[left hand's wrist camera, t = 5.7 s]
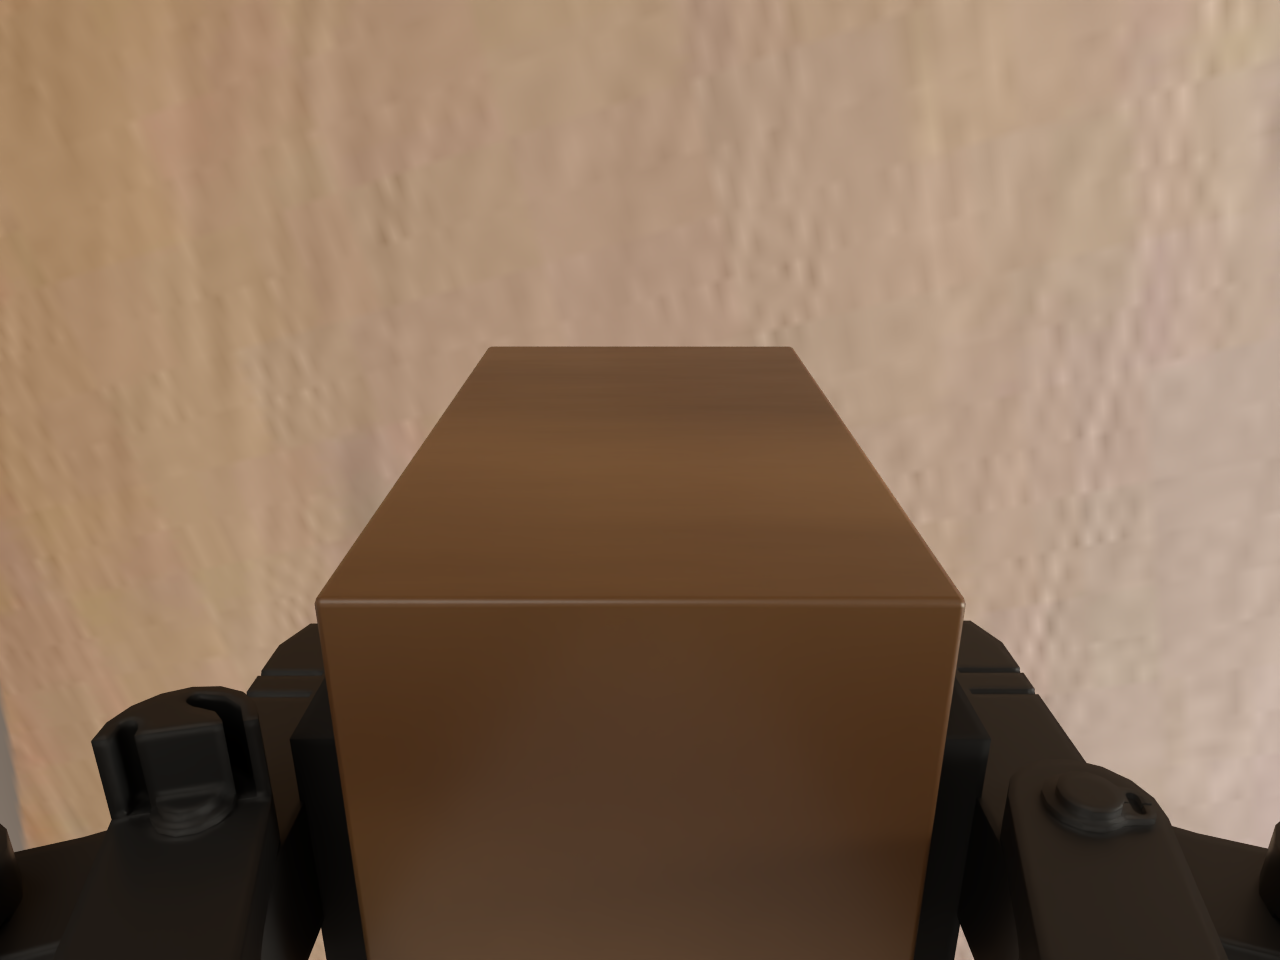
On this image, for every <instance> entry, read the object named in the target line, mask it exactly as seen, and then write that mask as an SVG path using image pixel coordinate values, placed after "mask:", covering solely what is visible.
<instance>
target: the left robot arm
mask: <svg viewBox="0 0 1280 960" xmlns="http://www.w3.org/2000/svg"><path fill="white" fill-rule="evenodd" d="M261 672H262V673H261V676H258V677H257V678H256V679H255V681H254V682H253V684H252V685H251V687H250V688H249V689H248V691H247V695H246V694H245V693H244V692H242V691H238V690H234V689H230V688H226V687H222V686H213V687H190V688H185V689H181V690H176V691H172V692H167V693H163V694H160V695H157V696H155V697H152V698H150V699H147V700H145V701H143V702H140V703H138V704H135V705H133V706H131V707H129V708H128V709H126V710H125V711H123V712H122V713H120V714H119V715H117V716H116V717H114V718H113V719H111V720H110V721H108V722H107V723H106V724H105V725H104V726H103V728H102V729H101V730H100V731H99V732H98V734H97V735H96V736H95V737H94V738H93V740H92V741H91V743H92V747H93V751H94V754H95V758H96V762H97V766H98V770H99V773H100V777H101V781H102V785H103V789H104V792H105V796H106V800H107V804H108V808H109V811H110V815H111V819H112V820H111V822H110V825H109V827H108V829H107V831H103V832H100V833H96V834H93V835H89V836H86V837H82V838H77V839H73V840H68V841H64V842H59V843H55V844H50V845H46V846H41V847H36V848H32V849H27V850H23V851H18V852H14V851H13V848H12V845H11V842H10V839H9V835H8V832H7V829H6V828H5V827H3V826H2V825H1V824H0V960H308V959H309V956H310V954H311V951H312V949H313V946H314V944H315V941H316V939H317V936H318V934H319V931H320V929H322V935H323V941H324V947H325V953H326V959H327V960H367V957H366V951H365V944H364V937H363V930H362V923H361V916H360V910H359V903H358V896H357V889H356V882H355V875H354V869H353V862H352V855H351V848H350V841H349V835H348V828H347V821H346V814H345V807H344V800H343V794H342V787H341V780H340V773H339V766H338V759H337V753H336V746H335V739H334V732H333V725H332V718H331V712H330V705H329V698H328V691H327V684H326V677H325V671H324V664H323V657H322V650H321V643H320V637H319V630H318V624H309V625H308V626H307V627H305V628H304V629H302V630H301V631H299V632H298V633H296V634H295V635H294V636H292V637H291V638H289V639H288V640H286V641H285V642H283V643H282V644H280V645H279V646H278V648H277V649H276V651H275V652H274V654H273V655H272V656H271V658H270V659H269V661H268V662H267V664H266V665H265V666H264V668H263V669H262V671H261ZM960 925H961V927H962V930H963V932H964V935H965V937H966V940H967V942H968V945H969V947H970V950H971V952H972V955H973V957H974V960H1280V822H1279V823H1278V824H1276V825H1275V829H1274V832H1273V835H1272V838H1271V841H1270V844H1269V847H1268V849H1267V848H1262V847H1258V846H1253V845H1248V844H1244V843H1239V842H1235V841H1230V840H1226V839H1221V838H1216V837H1212V836H1207V835H1203V834H1198V833H1195V832H1191V831H1188V830H1184V829H1181V828H1177V827H1174V826H1172V825H1171V823H1170V821H1169V818H1168V817H1167V816H1166V814H1165V813H1164V811H1163V810H1162V809H1161V807H1160V806H1159V804H1158V803H1157V802H1156V800H1155V799H1154V798H1153V797H1152V796H1151V795H1149V794H1148V793H1147V792H1145V791H1144V790H1143V789H1141V788H1140V787H1139V786H1138V785H1136V784H1135V783H1134V782H1132V781H1131V780H1129V779H1127V778H1125V777H1123V776H1121V775H1118V774H1116V773H1114V772H1112V771H1110V770H1108V769H1106V768H1103V767H1101V766H1097V765H1093V764H1089V763H1086V762H1085V760H1084V759H1083V757H1082V756H1081V754H1080V753H1079V752H1078V750H1077V749H1076V747H1075V746H1074V744H1073V743H1072V742H1071V740H1070V739H1069V737H1068V736H1067V734H1066V733H1065V732H1064V730H1063V729H1062V727H1061V726H1060V724H1059V723H1058V722H1057V720H1056V719H1055V717H1054V716H1053V714H1052V713H1051V712H1050V710H1049V709H1048V707H1047V706H1046V704H1045V703H1044V702H1043V700H1042V699H1041V697H1040V696H1039V694H1035V689H1034V687H1033V686H1032V684H1031V683H1030V682H1029V680H1028V679H1027V677H1026V676H1025V674H1024V673H1020V667H1019V666H1018V664H1017V663H1016V662H1015V660H1014V659H1013V657H1012V656H1011V655H1010V653H1009V652H1008V650H1007V649H1006V647H1005V646H1004V645H1003V643H1002V642H1001V641H999V640H998V639H996V638H995V637H993V636H992V635H990V634H989V633H988V632H986V631H985V630H983V629H982V628H980V627H979V626H977V625H976V624H974V623H973V622H971V621H963V625H962V632H961V639H960V646H959V653H958V659H957V666H956V673H955V680H954V687H953V693H952V700H951V707H950V714H949V721H948V728H947V734H946V741H945V748H944V755H943V762H942V768H941V775H940V782H939V789H938V796H937V802H936V809H935V816H934V823H933V830H932V837H931V843H930V850H929V857H928V864H927V871H926V877H925V884H924V891H923V898H922V905H921V911H920V918H919V925H918V932H917V939H916V946H915V952H914V959H913V960H954V957H955V951H956V945H957V939H958V933H959V927H960Z"/></svg>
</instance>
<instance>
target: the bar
mask: <svg viewBox="0 0 1280 960" xmlns="http://www.w3.org/2000/svg"><path fill="white" fill-rule="evenodd" d="M965 605H966V604H965V601H964V598H963V596H962V595H961V594H960V592H959V591H958V589H957V588H956V586H955V585H954V583H953V582H952V580H951V579H950V577H949V576H948V575H947V573H946V572H945V570H944V569H943V567H942V566H941V564H940V563H939V561H938V560H937V558H936V557H935V556H934V554H933V553H932V551H931V550H930V548H929V547H928V545H927V544H926V542H925V541H924V539H923V538H922V537H921V535H920V534H919V532H918V531H917V529H916V528H915V526H914V525H913V523H912V522H911V521H910V519H909V518H908V516H907V515H906V513H905V512H904V510H903V509H902V507H901V506H900V504H899V503H898V502H897V500H896V499H895V497H894V496H893V494H892V493H891V491H890V490H889V488H888V487H887V485H886V484H885V483H884V481H883V480H882V478H881V477H880V475H879V474H878V472H877V471H876V469H875V468H874V466H873V465H872V464H871V462H870V461H869V459H868V458H867V456H866V455H865V453H864V452H863V450H862V449H861V447H860V446H859V445H858V443H857V442H856V440H855V439H854V437H853V436H852V434H851V433H850V431H849V430H848V429H847V427H846V426H845V424H844V423H843V421H842V420H841V418H840V417H839V415H838V414H837V412H836V411H835V410H834V408H833V407H832V405H831V404H830V402H829V401H828V399H827V398H826V396H825V395H824V393H823V392H822V391H821V389H820V388H819V386H818V385H817V383H816V382H815V380H814V379H813V377H812V376H811V374H810V373H809V372H808V370H807V369H806V367H805V366H804V364H803V363H802V361H801V360H800V358H799V357H798V355H797V354H796V353H795V351H794V350H793V348H791V347H490V348H488V350H487V351H486V353H485V354H484V356H483V357H482V359H481V360H480V361H479V363H478V364H477V366H476V367H475V369H474V370H473V372H472V373H471V374H470V376H469V377H468V379H467V380H466V382H465V383H464V385H463V386H462V388H461V389H460V390H459V392H458V393H457V395H456V396H455V398H454V399H453V401H452V402H451V404H450V405H449V406H448V408H447V409H446V411H445V412H444V414H443V415H442V417H441V418H440V419H439V421H438V422H437V424H436V425H435V427H434V428H433V430H432V431H431V433H430V434H429V435H428V437H427V438H426V440H425V441H424V443H423V444H422V446H421V447H420V448H419V450H418V451H417V453H416V454H415V456H414V457H413V459H412V460H411V462H410V463H409V464H408V466H407V467H406V469H405V470H404V472H403V473H402V475H401V476H400V478H399V479H398V480H397V482H396V483H395V485H394V486H393V488H392V489H391V491H390V492H389V493H388V495H387V496H386V498H385V499H384V501H383V502H382V504H381V505H380V507H379V508H378V509H377V511H376V512H375V514H374V515H373V517H372V518H371V520H370V521H369V523H368V524H367V525H366V527H365V528H364V530H363V531H362V533H361V534H360V536H359V537H358V538H357V540H356V541H355V543H354V544H353V546H352V547H351V549H350V550H349V552H348V553H347V554H346V556H345V557H344V559H343V560H342V562H341V563H340V565H339V566H338V568H337V569H336V570H335V572H334V573H333V575H332V576H331V578H330V579H329V581H328V582H327V583H326V585H325V586H324V588H323V589H322V591H321V592H320V594H319V595H318V597H317V598H316V601H315V609H316V616H317V623H318V630H319V637H320V643H321V650H322V657H323V664H324V671H325V677H326V684H327V691H328V698H329V705H330V712H331V718H332V725H333V732H334V739H335V746H336V753H337V759H338V766H339V773H340V780H341V787H342V794H343V800H344V807H345V814H346V821H347V828H348V835H349V841H350V848H351V855H352V862H353V869H354V875H355V882H356V889H357V896H358V903H359V910H360V916H361V923H362V930H363V937H364V944H365V951H366V957H367V960H913V959H914V952H915V946H916V939H917V932H918V925H919V918H920V911H921V905H922V898H923V891H924V884H925V877H926V871H927V864H928V857H929V850H930V843H931V837H932V830H933V823H934V816H935V809H936V802H937V796H938V789H939V782H940V775H941V768H942V762H943V755H944V748H945V741H946V734H947V728H948V721H949V714H950V707H951V700H952V693H953V687H954V680H955V673H956V666H957V659H958V653H959V646H960V639H961V632H962V625H963V619H964V612H965Z"/></svg>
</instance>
